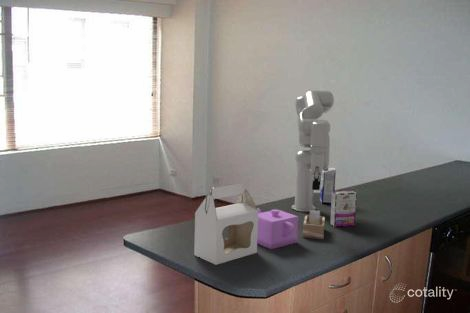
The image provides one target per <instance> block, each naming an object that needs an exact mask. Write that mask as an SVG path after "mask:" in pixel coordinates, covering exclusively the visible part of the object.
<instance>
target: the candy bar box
mask: <svg viewBox="0 0 470 313" xmlns="http://www.w3.org/2000/svg"><path fill="white" fill-rule="evenodd" d="M357 198H358V193H357V192H356V191H354V190H343V191H342V190H341V191H339V190H338V191H335V192H332V200H331V204H330V205H331V206H330V220H329V221H330V222H329V223H330V226H332V225H333V227H334V228H337V226H338V228H341V227H340V226H343V227H354V226H356V215H357Z"/></svg>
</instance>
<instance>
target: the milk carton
mask: <svg viewBox="0 0 470 313" xmlns="http://www.w3.org/2000/svg"><path fill="white" fill-rule="evenodd" d="M336 173H337V169H336V168H335V167H332V166H331V167H327V168H326V169H323V171H322V175H321V181H320V195H319V202H320V201H321V202H320V204H321V203H329V204H328V205H331V200H332V192H336V191H335V188H336V177H337V176H336V175H337V174H336Z"/></svg>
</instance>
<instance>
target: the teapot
mask: <svg viewBox="0 0 470 313" xmlns="http://www.w3.org/2000/svg"><path fill="white" fill-rule="evenodd" d="M257 209H258V234H257V245H259V244H260V246H261V247H265V248H267V249H269V250H273V249H278V248H281V247H286V246H289V244H290V245H294V244H296V243H298V231H299V216H298V215H295V214H292V213H289V212H286V211H284V210H280V209H276V208H275V209H271V210H268V211H264V212H262V211H261V209H260V208H258V207H257ZM293 243H294V244H293Z"/></svg>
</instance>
